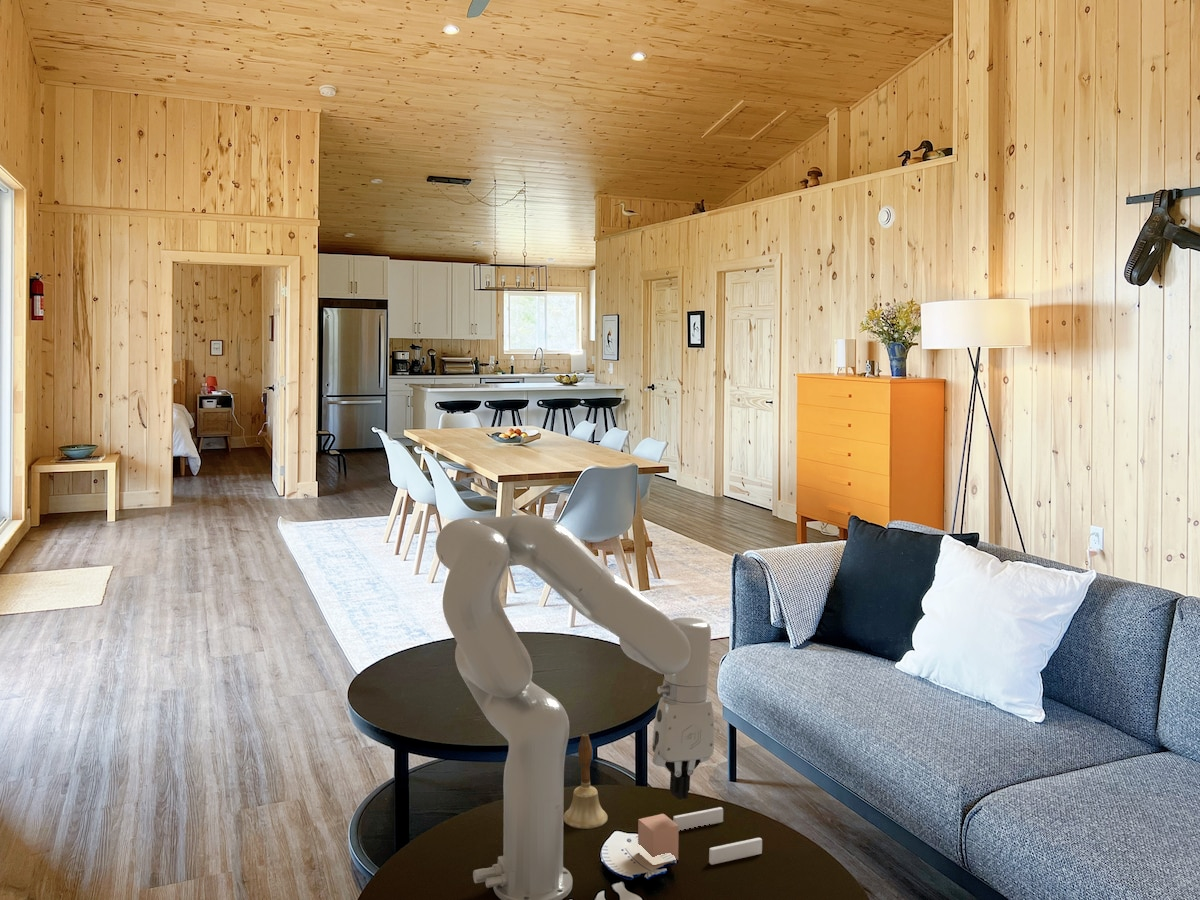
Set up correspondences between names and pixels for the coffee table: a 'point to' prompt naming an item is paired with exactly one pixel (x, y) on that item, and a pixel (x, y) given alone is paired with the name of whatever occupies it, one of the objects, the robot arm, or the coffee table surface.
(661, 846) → the block
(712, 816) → the channel
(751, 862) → the coffee table surface
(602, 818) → the hand bell
